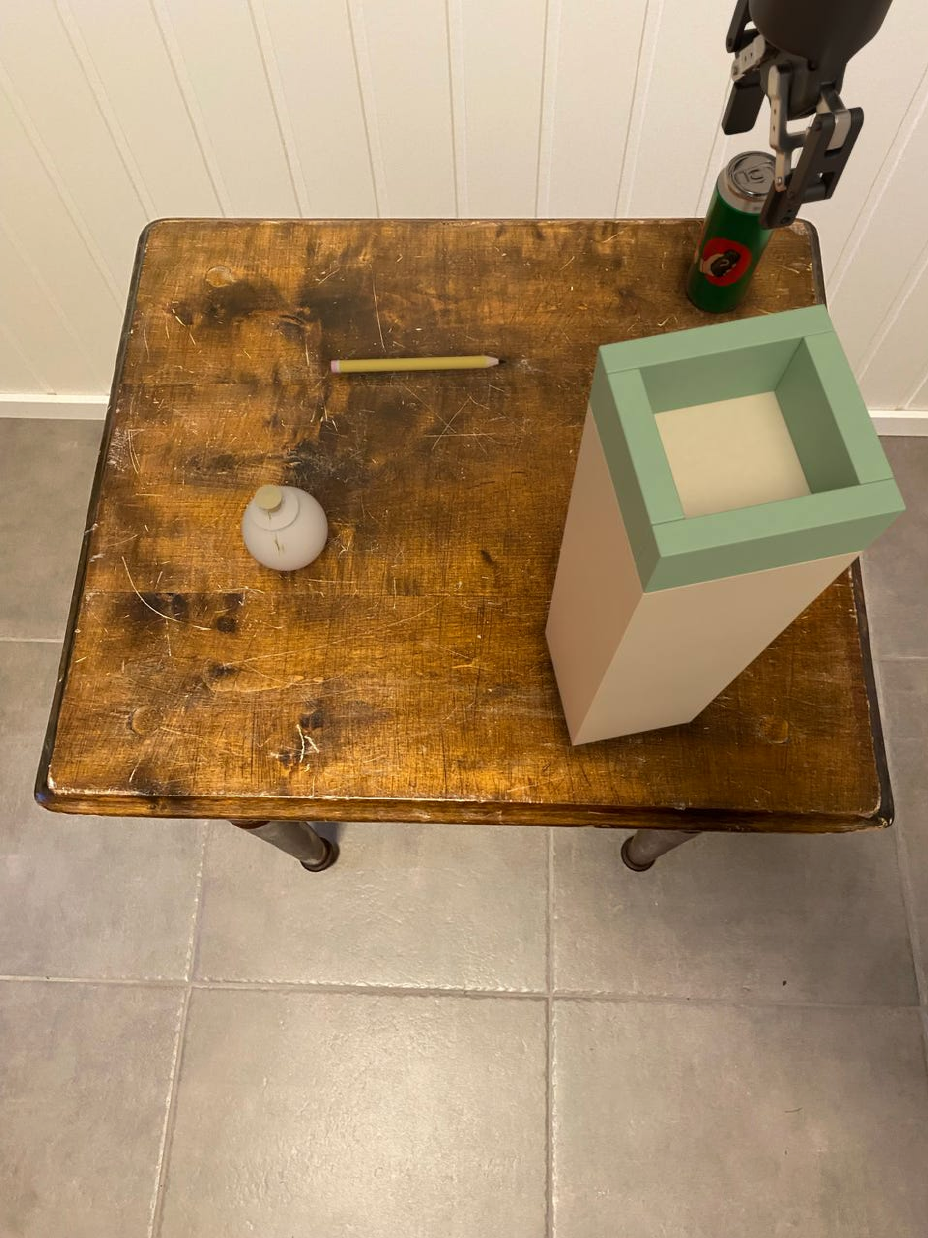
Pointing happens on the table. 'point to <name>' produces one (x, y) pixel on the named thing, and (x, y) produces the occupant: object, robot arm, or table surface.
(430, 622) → the table surface
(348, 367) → the pencil
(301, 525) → the ornament
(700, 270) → the soda can
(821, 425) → the holder
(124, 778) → the table surface
